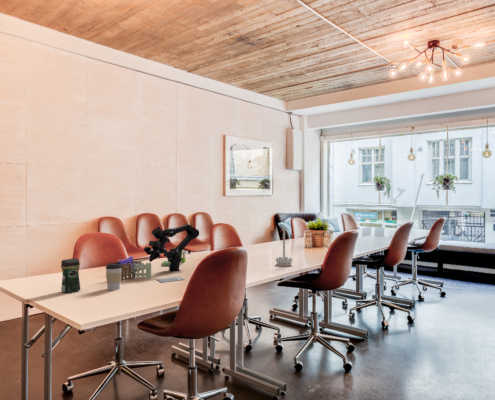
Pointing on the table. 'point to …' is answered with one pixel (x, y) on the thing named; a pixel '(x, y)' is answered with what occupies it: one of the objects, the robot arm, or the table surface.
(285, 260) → the flag stand
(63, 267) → the coffee jar
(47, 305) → the table surface
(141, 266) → the sage fence section
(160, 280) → the card
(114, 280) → the coffee cup
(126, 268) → the walnut fence section
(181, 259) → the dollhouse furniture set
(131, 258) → the toy sofa
